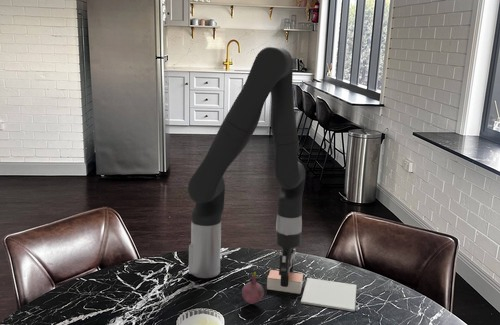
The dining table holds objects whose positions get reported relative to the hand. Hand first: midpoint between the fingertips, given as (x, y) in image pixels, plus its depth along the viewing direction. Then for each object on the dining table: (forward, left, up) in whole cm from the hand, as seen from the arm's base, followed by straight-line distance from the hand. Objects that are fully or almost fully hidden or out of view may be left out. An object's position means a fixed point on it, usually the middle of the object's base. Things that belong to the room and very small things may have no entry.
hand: (286, 279), depth 144 cm
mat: (+13, 0, -3) cm, 13 cm away
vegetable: (-7, -13, -3) cm, 15 cm away
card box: (0, 0, -3) cm, 3 cm away
